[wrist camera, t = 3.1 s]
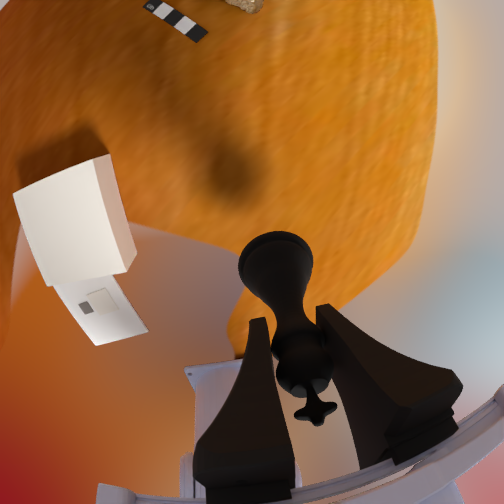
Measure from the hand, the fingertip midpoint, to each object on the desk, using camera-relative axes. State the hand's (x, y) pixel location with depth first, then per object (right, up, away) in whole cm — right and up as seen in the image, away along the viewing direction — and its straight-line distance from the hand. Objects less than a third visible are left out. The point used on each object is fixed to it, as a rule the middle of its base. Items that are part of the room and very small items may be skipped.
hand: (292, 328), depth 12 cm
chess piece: (0, +3, +4) cm, 5 cm away
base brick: (-15, +6, +6) cm, 18 cm away
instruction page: (-16, -1, +10) cm, 19 cm away
